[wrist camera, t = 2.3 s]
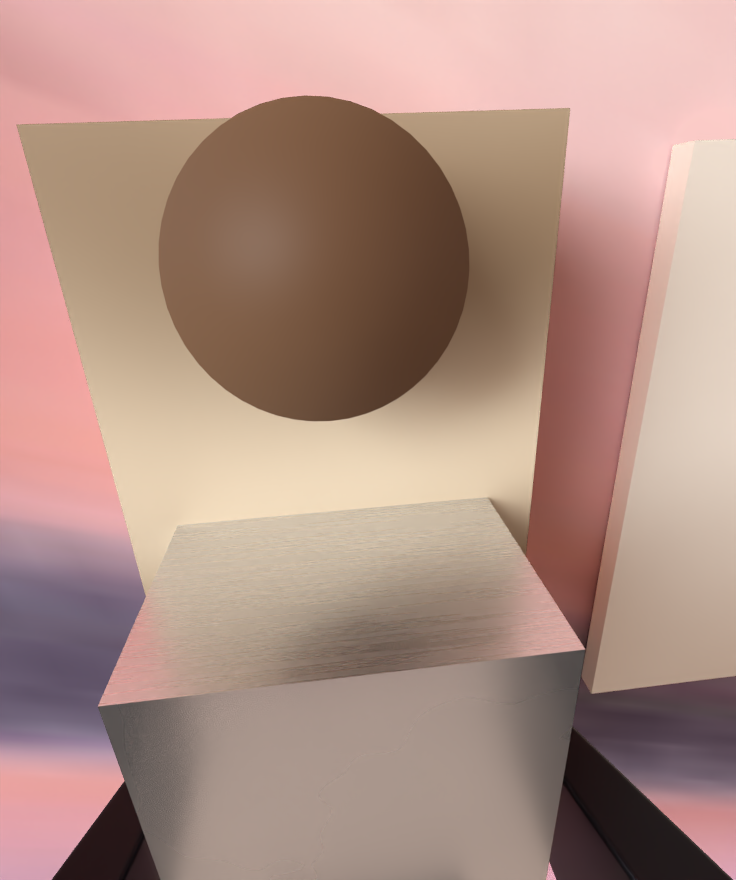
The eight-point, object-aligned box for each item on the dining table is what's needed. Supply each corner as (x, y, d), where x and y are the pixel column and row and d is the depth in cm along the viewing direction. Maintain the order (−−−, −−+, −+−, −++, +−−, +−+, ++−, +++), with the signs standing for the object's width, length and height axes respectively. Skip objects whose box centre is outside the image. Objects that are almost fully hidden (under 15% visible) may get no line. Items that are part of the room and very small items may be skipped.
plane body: (450, 716, 15) (528, 989, 10) (251, 741, 15) (216, 1043, 9) (469, 152, 9) (690, 55, 4) (136, 164, 9) (-141, 72, 3)
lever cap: (468, 821, 11) (542, 1101, 7) (252, 852, 11) (222, 1163, 7) (487, 497, 8) (632, 724, 4) (177, 525, 7) (56, 797, 4)
